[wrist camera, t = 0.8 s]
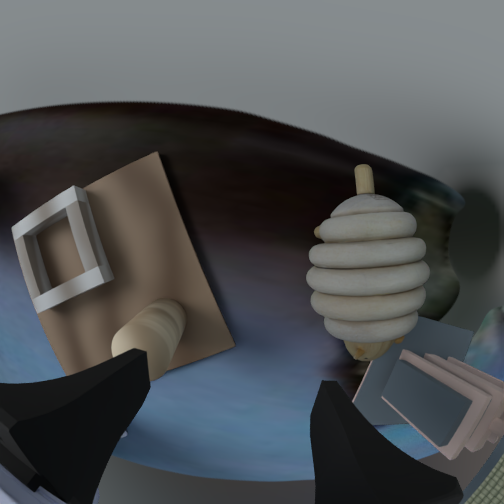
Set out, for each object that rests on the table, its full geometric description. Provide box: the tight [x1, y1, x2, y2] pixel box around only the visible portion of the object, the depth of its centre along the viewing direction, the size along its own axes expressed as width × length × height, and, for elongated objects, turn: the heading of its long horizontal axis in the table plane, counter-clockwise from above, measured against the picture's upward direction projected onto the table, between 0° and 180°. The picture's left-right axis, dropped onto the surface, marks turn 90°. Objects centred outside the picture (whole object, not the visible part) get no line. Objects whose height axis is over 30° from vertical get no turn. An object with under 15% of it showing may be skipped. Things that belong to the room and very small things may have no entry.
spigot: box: [111, 298, 187, 381], centre depth 20 cm, size 4×4×9 cm
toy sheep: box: [306, 164, 430, 361], centre depth 21 cm, size 11×17×11 cm, turn 8°
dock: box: [12, 152, 236, 376], centre depth 23 cm, size 20×20×3 cm
